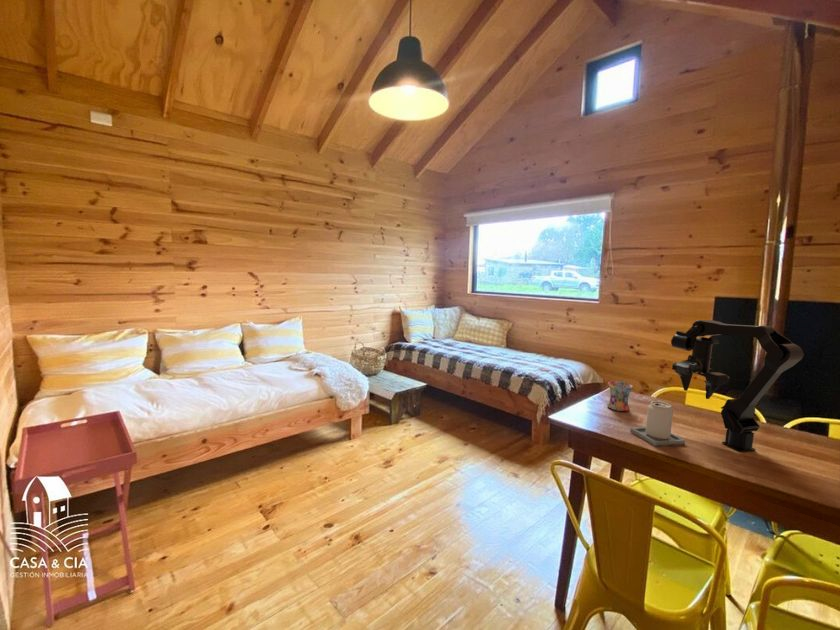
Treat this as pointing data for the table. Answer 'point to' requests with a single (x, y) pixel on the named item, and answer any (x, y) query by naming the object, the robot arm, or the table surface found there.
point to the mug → (619, 395)
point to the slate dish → (655, 442)
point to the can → (659, 420)
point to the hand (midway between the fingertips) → (696, 394)
